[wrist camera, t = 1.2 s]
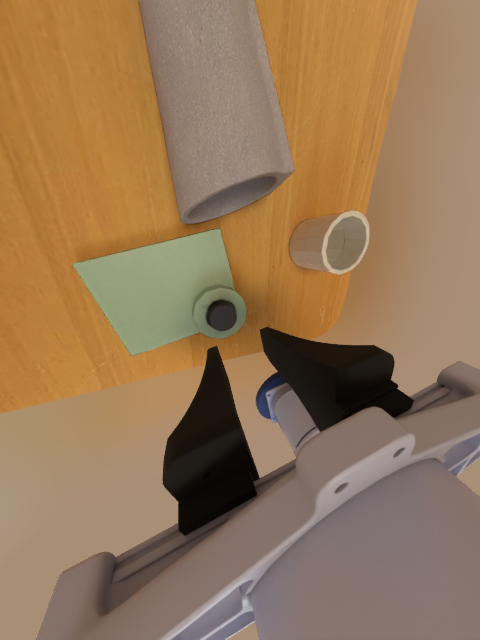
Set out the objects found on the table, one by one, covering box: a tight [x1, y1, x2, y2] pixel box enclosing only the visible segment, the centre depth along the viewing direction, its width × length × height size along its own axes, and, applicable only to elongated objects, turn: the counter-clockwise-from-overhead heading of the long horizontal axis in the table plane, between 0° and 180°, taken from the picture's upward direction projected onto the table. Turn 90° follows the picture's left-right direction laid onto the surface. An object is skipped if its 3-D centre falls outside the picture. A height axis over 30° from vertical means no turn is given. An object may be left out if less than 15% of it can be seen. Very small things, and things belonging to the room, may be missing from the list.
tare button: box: [208, 301, 237, 331], centre depth 18 cm, size 3×3×2 cm
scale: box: [73, 228, 247, 356], centre depth 18 cm, size 11×13×2 cm
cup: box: [289, 210, 370, 275], centre depth 19 cm, size 6×6×6 cm
